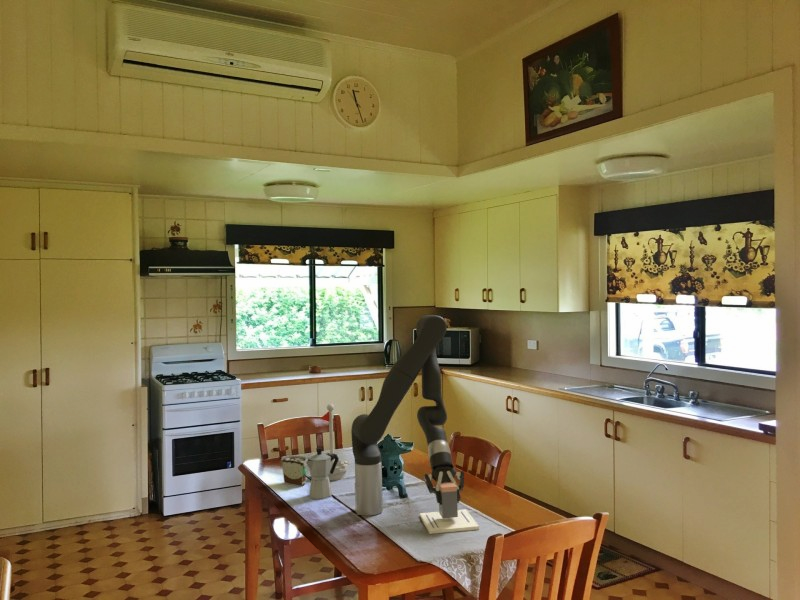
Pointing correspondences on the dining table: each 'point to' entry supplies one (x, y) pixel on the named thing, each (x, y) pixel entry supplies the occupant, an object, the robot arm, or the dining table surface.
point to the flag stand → (340, 467)
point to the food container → (294, 470)
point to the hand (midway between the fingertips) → (449, 502)
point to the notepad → (448, 522)
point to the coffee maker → (321, 474)
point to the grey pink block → (448, 500)
